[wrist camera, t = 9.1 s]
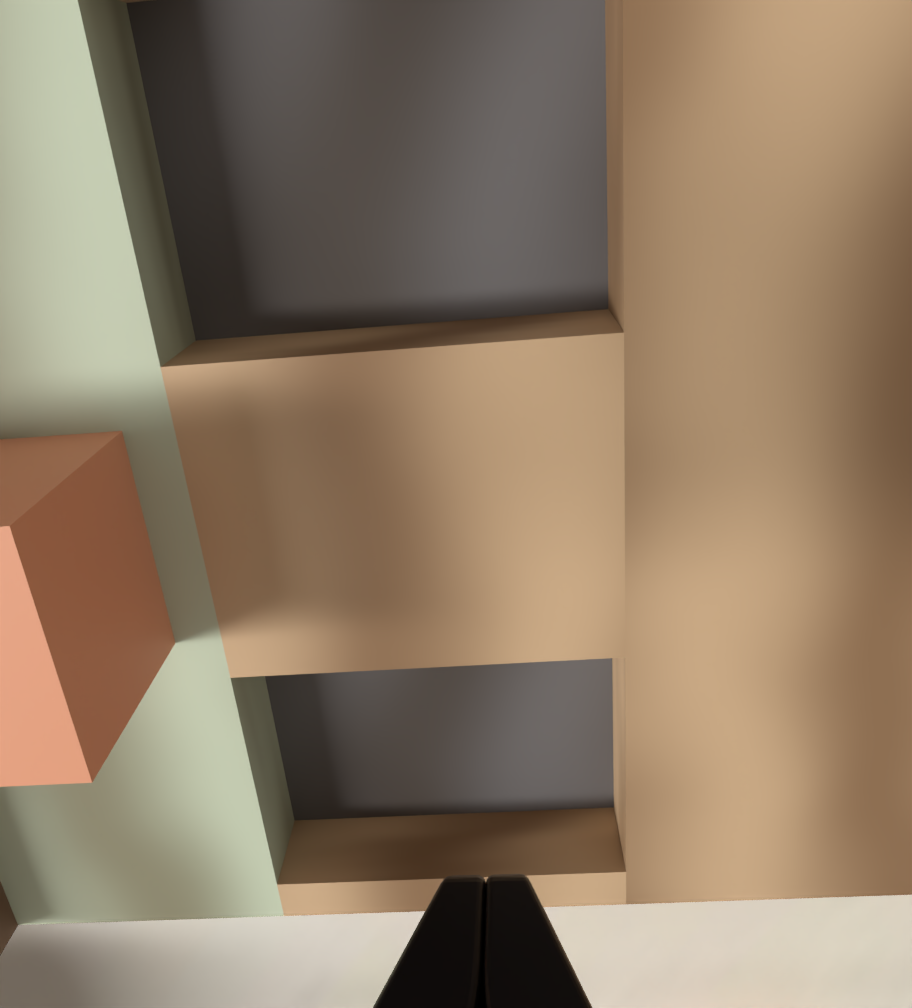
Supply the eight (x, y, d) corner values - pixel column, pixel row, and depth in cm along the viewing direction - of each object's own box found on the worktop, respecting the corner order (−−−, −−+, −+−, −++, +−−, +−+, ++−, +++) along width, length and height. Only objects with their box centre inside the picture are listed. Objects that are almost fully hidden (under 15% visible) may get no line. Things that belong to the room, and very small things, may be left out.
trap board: (1345, -191, 13) (1670, -310, 10) (1077, 804, 21) (1199, 945, 18) (-295, -17, 15) (-548, -63, 11) (28, 846, 23) (-58, 983, 19)
